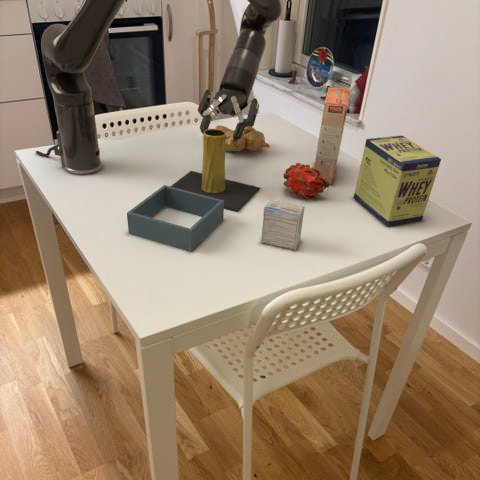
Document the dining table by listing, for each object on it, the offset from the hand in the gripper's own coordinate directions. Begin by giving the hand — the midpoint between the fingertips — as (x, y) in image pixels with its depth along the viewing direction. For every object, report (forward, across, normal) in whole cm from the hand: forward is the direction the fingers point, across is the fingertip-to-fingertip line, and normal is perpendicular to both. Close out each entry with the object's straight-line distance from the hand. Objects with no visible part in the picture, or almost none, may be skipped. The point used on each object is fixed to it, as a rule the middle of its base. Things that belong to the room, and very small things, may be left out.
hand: (218, 136), depth 124 cm
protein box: (+2, -42, -17) cm, 45 cm away
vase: (+11, 0, -8) cm, 13 cm away
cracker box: (-6, -22, -26) cm, 34 cm away
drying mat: (+11, 0, -8) cm, 13 cm away
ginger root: (-9, +5, -28) cm, 30 cm away
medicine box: (+22, -24, +3) cm, 32 cm away
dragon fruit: (+4, -21, -15) cm, 26 cm away
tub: (+25, -1, +7) cm, 26 cm away
